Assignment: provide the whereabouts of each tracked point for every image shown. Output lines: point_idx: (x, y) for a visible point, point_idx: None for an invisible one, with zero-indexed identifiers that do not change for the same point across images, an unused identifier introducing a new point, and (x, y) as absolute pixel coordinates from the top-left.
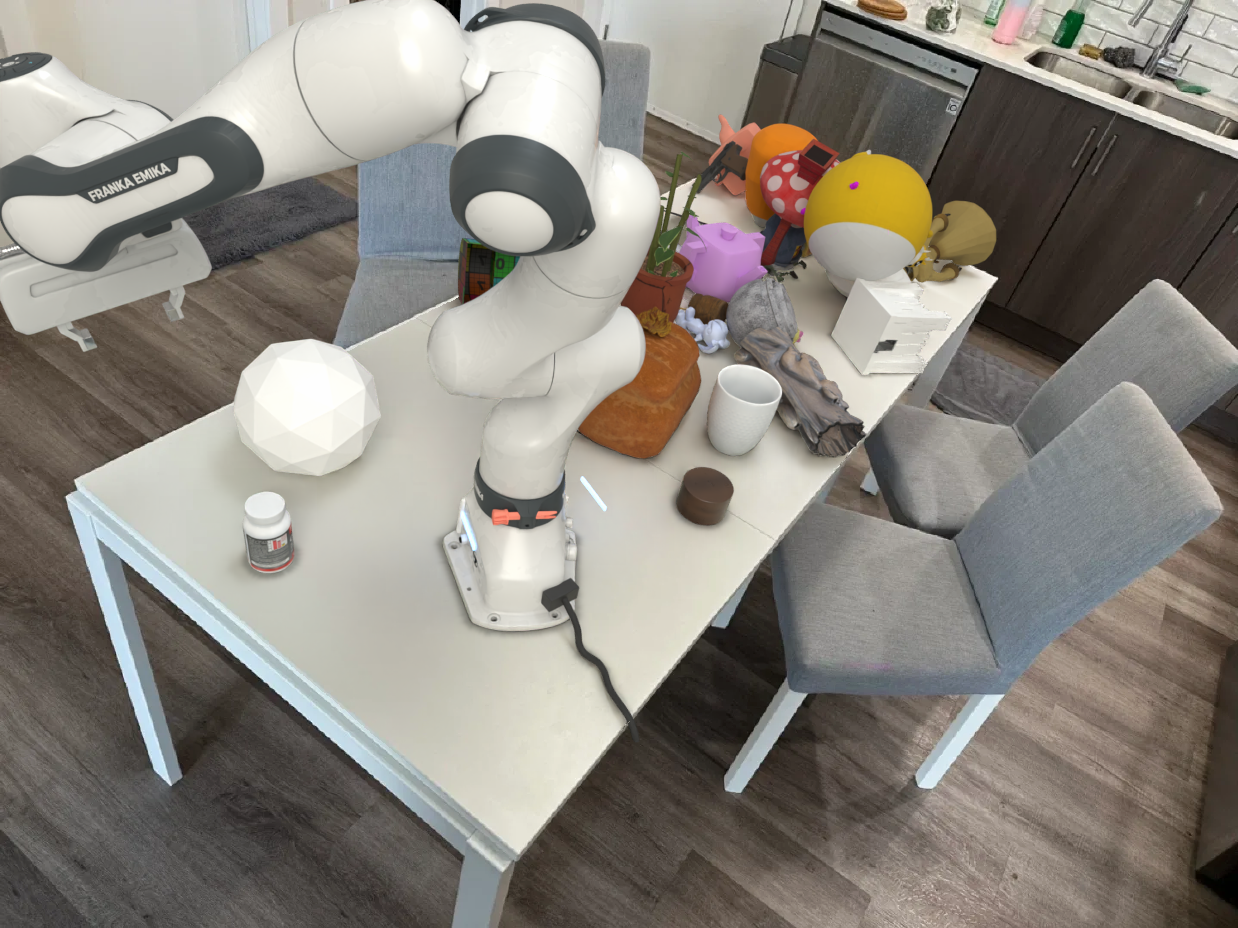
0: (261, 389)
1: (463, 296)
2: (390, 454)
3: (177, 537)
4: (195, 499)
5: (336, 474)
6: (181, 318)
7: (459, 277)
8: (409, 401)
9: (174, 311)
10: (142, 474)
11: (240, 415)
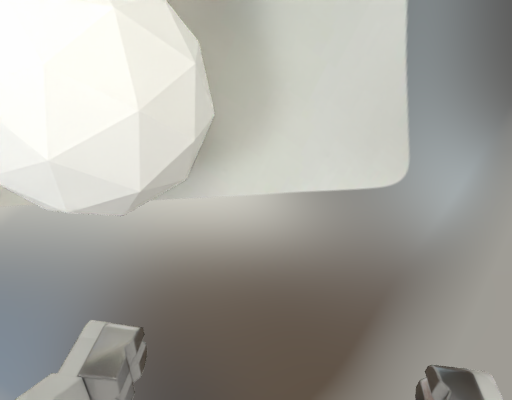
0: (115, 118)
1: None
2: None
3: (376, 17)
4: (314, 81)
5: None
6: (99, 322)
7: None
8: None
9: (93, 363)
10: (345, 164)
11: (187, 121)
